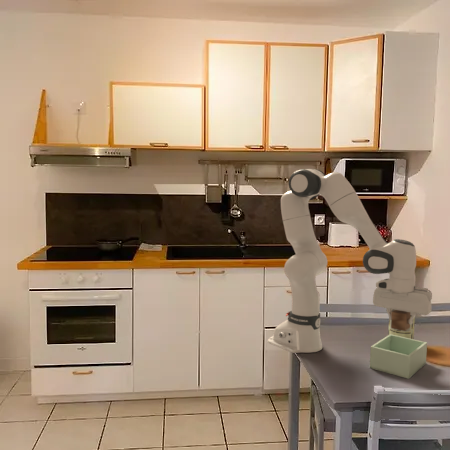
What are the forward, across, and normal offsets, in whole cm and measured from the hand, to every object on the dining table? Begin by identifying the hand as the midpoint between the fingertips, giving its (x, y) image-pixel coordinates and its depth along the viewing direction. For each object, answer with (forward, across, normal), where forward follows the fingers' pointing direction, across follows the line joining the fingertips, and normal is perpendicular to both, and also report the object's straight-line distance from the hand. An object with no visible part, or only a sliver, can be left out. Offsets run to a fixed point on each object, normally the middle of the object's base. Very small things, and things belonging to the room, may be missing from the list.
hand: (400, 322), depth 173 cm
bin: (+16, 0, 0) cm, 16 cm away
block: (+2, 0, 0) cm, 2 cm away
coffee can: (+17, +8, -24) cm, 30 cm away
